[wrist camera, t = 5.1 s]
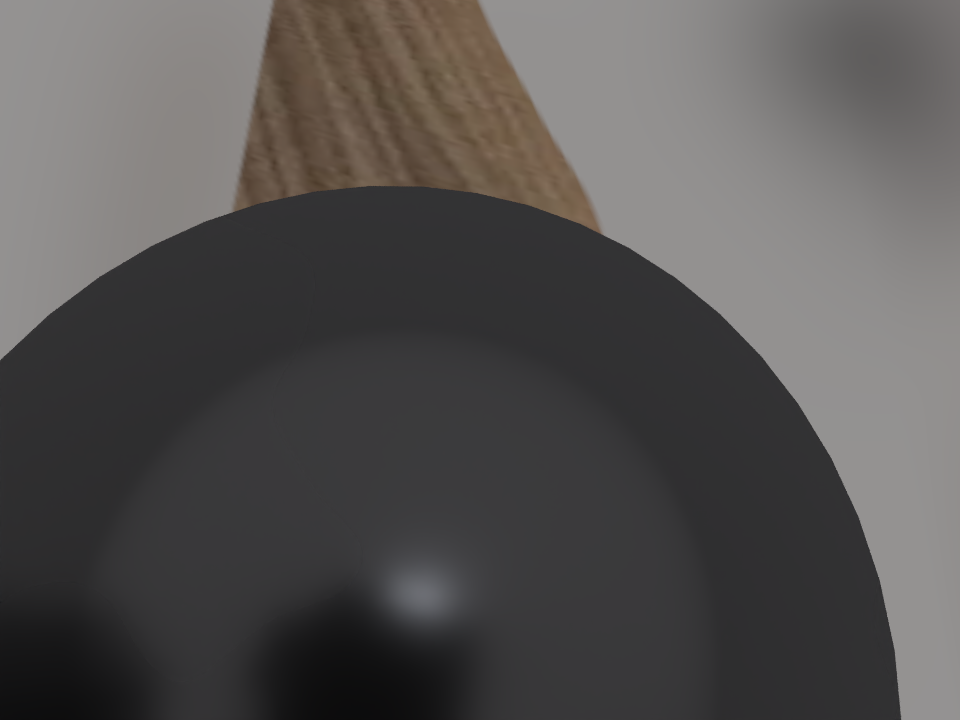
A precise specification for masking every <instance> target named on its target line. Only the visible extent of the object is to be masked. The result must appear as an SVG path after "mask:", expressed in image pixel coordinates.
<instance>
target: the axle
mask: <svg viewBox="0 0 960 720" xmlns="http://www.w3.org/2000/svg"><path fill="white" fill-rule="evenodd" d="M0 720H901V714H900V704H899V694H898V683H897V672H896V662H895V651H894V646H893V641H892V637H891V632H890V627H889V622H888V617H887V613H886V608H885V604H884V599H883V594H882V589H881V585H880V580H879V577H878V574H877V571H876V568H875V565H874V562H873V559H872V556H871V553H870V550H869V547H868V545H867V541H866V538H865V535H864V532H863V530H862V526H861V524H860V520H859V518H858V515H857V513H856V511H855V509H854V506H853V504H852V502H851V500H850V498H849V496H848V494H847V491H846V489H845V487H844V485H843V483H842V481H841V478H840V477H839V474H838V472H837V470H836V468H835V466H834V463H833V461H832V459H831V457H830V455H829V454H828V452H827V450H826V449H825V447H824V446H823V444H822V442H821V441H820V439H819V437H818V436H817V434H816V432H815V431H814V429H813V428H812V426H811V424H810V423H809V421H808V419H807V418H806V416H805V415H804V413H803V411H802V410H801V408H800V406H799V405H798V403H797V402H796V401H795V399H794V398H793V397H792V396H791V394H790V393H789V392H788V391H787V389H786V388H785V386H784V385H783V384H782V383H781V382H780V380H779V379H778V377H777V376H776V375H775V374H774V372H773V371H772V370H771V369H770V367H769V366H768V365H767V363H766V362H765V361H764V360H763V358H762V357H761V356H760V355H759V354H758V353H757V352H756V351H755V349H753V347H752V346H750V345H749V343H748V342H747V341H746V340H745V339H744V338H743V337H742V336H741V335H740V334H739V333H738V332H737V331H736V330H735V329H734V328H733V327H732V326H731V325H730V324H729V323H728V322H727V321H726V320H725V319H724V318H723V317H722V316H721V315H720V314H719V313H718V312H717V311H716V310H714V309H713V308H712V307H711V306H709V305H708V304H707V303H706V302H704V301H703V300H702V299H701V298H699V297H698V296H697V295H696V294H695V293H693V292H692V291H691V290H690V289H688V288H687V287H686V286H685V285H684V284H682V283H681V282H680V281H679V280H677V279H676V278H675V277H673V276H672V275H670V274H668V273H667V272H665V271H664V270H662V269H661V268H659V267H658V266H656V265H655V264H653V263H651V262H650V261H648V260H647V259H645V258H644V257H642V256H641V255H639V254H637V253H636V252H634V251H633V250H631V249H630V248H628V247H626V246H624V245H622V244H620V243H617V242H616V241H614V240H611V239H610V238H608V237H605V236H604V235H601V234H599V233H597V232H595V231H593V230H591V229H589V228H587V227H585V226H583V225H581V224H579V223H576V222H573V221H571V220H568V219H565V218H562V217H559V216H557V215H554V214H551V213H548V212H546V211H543V210H540V209H537V208H534V207H532V206H529V205H524V204H520V203H516V202H512V201H508V200H503V199H499V198H495V197H491V196H486V195H482V194H478V193H471V192H463V191H454V190H446V189H438V188H430V187H398V186H367V187H357V188H347V189H337V190H327V191H317V192H311V193H307V194H302V195H297V196H293V197H288V198H283V199H279V200H274V201H269V202H264V203H260V204H257V205H254V206H251V207H248V208H245V209H242V210H239V211H236V212H233V213H230V214H227V215H224V216H221V217H218V218H215V219H212V220H209V221H206V222H203V223H201V224H199V225H197V226H195V227H192V228H190V229H188V230H186V231H184V232H181V233H179V234H177V235H175V236H173V237H170V238H168V239H166V240H164V241H162V242H159V243H157V244H155V245H153V246H151V247H149V248H148V249H146V250H144V251H143V252H141V253H139V254H138V255H136V256H134V257H132V258H131V259H129V260H127V261H126V262H124V263H122V264H121V265H119V266H117V267H116V268H114V269H112V270H111V271H109V272H107V273H106V274H104V275H102V276H100V277H99V278H98V279H96V280H95V281H94V282H92V283H91V284H90V285H88V286H87V287H86V288H84V289H83V290H82V291H80V292H79V293H78V294H76V295H75V296H74V297H72V298H71V299H70V300H68V301H67V302H66V303H64V304H63V305H62V306H60V307H59V308H58V309H56V310H55V311H53V312H52V313H51V314H50V315H49V316H47V317H46V318H45V319H44V320H43V321H42V322H41V323H40V324H39V325H38V326H37V327H36V328H34V329H33V330H32V331H31V332H30V333H29V334H28V335H27V336H26V337H25V338H24V339H23V340H22V341H20V342H19V343H18V344H17V345H16V346H15V347H14V348H13V349H12V350H11V351H10V352H9V353H8V354H7V355H5V356H4V357H3V358H2V359H1V360H0Z"/></svg>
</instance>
